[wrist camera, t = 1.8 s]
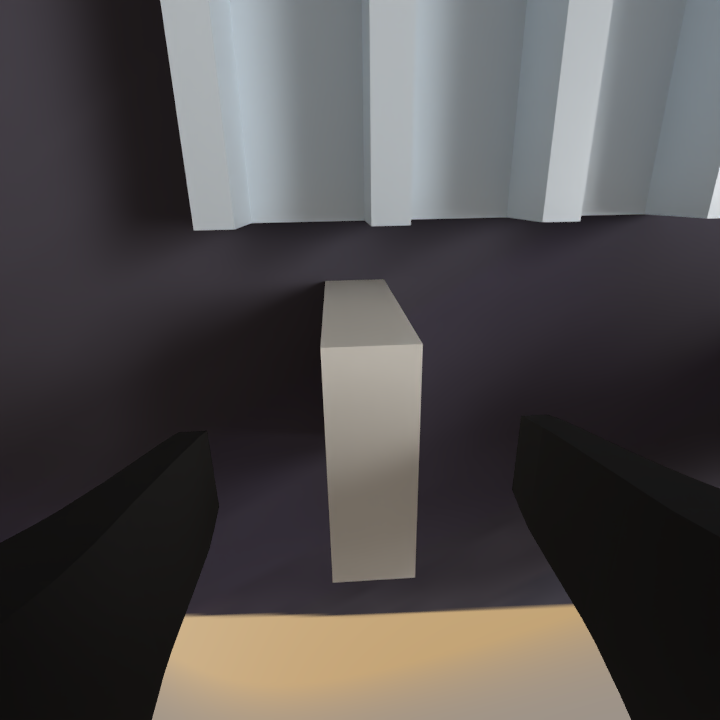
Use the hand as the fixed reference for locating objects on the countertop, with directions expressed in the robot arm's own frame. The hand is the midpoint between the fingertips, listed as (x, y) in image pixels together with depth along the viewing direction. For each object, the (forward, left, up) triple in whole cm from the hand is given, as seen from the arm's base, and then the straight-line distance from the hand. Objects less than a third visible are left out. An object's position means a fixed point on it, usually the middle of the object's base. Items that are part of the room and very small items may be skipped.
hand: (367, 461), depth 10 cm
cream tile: (0, 0, -6) cm, 6 cm away
